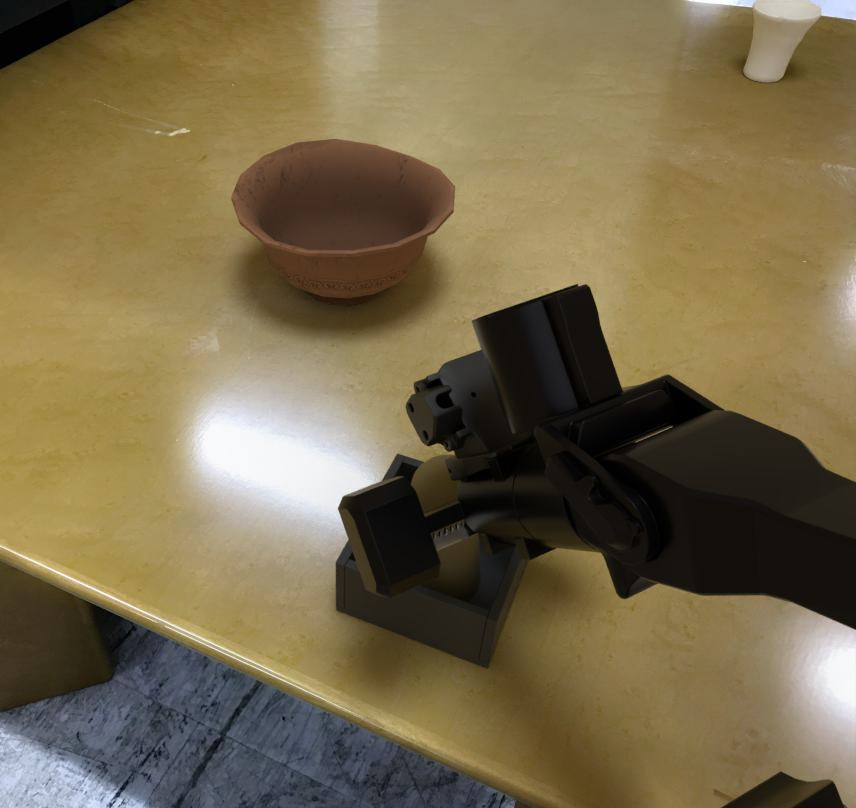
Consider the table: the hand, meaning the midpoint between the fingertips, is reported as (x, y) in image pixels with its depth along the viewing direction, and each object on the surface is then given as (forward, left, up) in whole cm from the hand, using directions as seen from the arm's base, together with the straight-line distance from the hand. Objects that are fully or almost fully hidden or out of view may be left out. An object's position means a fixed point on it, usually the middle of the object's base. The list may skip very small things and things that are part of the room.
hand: (434, 493), depth 62 cm
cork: (-1, +1, -8) cm, 8 cm away
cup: (-14, -103, -8) cm, 104 cm away
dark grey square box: (-1, +1, -8) cm, 8 cm away
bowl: (+21, -31, -8) cm, 38 cm away
